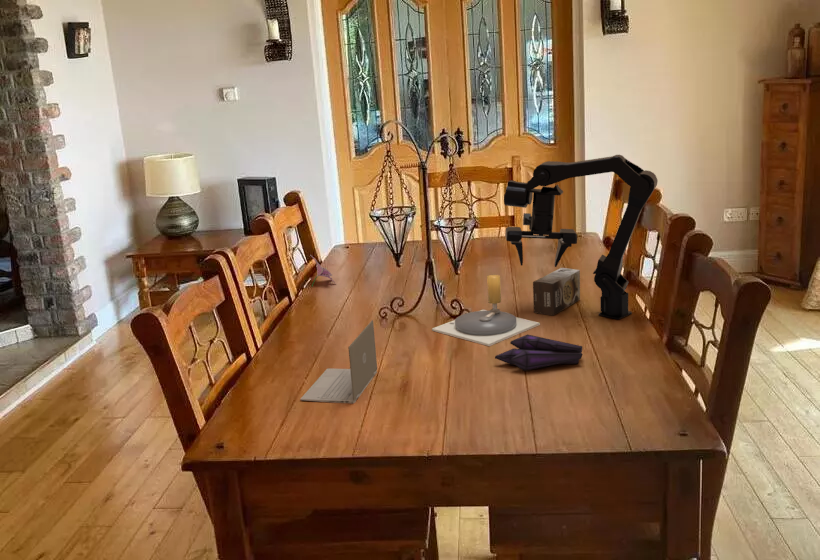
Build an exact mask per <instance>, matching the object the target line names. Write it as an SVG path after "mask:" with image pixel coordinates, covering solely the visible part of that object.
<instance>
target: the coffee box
mask: <svg viewBox="0 0 820 560" xmlns="http://www.w3.org/2000/svg"><path fill="white" fill-rule="evenodd" d="M580 271H581V270H580V269H573V268H566V267H560V268H558V269H556V270H554V271H552V272H550V273H548V274H546V275H544V276H542V277H540V278H538V279H537V280H534V281H533V282H532V293H533V294H532V295H533V301H532V302H533V313H534V314H540V315H545V316H546V315H547V316H556V315H557V314H558V313H560V312H562V311H564V310H565V309H567V308H569V307H570V306H573V305H574V304H575V303H576V302H577V303H578V301H580V300H581V272H580Z"/></svg>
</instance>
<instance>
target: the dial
mask: <svg viewBox="0 0 820 560" xmlns="http://www.w3.org/2000/svg"><path fill="white" fill-rule="evenodd" d="M486 279H487V280H486V281H487V302H488V304H491V305H492V309H490V310H487V311H480V310H476V311H470V312H466V313H463V314H461V315H459V316H457V317H456V318H455V319H456V320H455V319H454V320H455V327H456V329H457V330H458V331H460V332H463V333H466V334H472V335H493V334H500V333H504V332H507V331H510V330H512V329H513V328H515V327H516V317H517V316H515V315H514V314H512V313H510V312H507V311H502V310H500V308H498V304H500V303H502V294H501V293H502V292H501V291H502V289H501V275H500V274H490V275H487V276H486Z"/></svg>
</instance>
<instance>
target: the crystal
mask: <svg viewBox="0 0 820 560" xmlns="http://www.w3.org/2000/svg"><path fill="white" fill-rule="evenodd" d="M509 344H510V345H512V346H514V347H515V348H512V349H509V350H506V351H503V352H502V353H499V354H496V355H495V356H494V359H496V360H497V361H501V362H503V363H506V364H508V365H514V366H516V367H517V368H519V369H520V370H522V371H525V372H526V371H532V370H535V369H536V370H537V369H540V368H546V367H550V366H556V365H568V364H569V365H574V364H575V365H576V364H577V365H578V364H579V361H580V360H581V359H582V357H583V356H584V355H583V353H582V352H583V346H582V345H579V344H574V343H570V342H564V341H559V340H556V339H555V340H554V339H552V338H550V339H549V338H546V337H542V336H537V335H532V334H528V333H527V334H525V335H523V336H520V337H518V338H515V339H513V340H511V341H510V343H509Z"/></svg>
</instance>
